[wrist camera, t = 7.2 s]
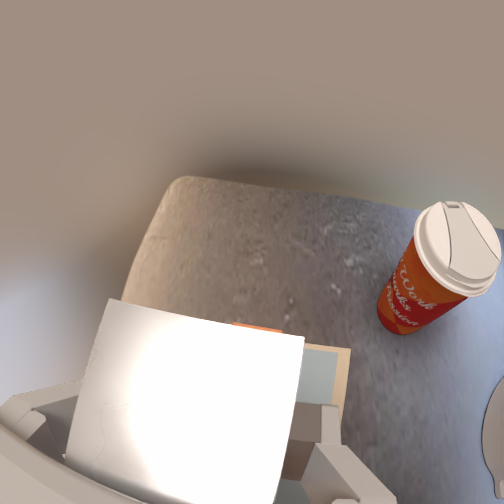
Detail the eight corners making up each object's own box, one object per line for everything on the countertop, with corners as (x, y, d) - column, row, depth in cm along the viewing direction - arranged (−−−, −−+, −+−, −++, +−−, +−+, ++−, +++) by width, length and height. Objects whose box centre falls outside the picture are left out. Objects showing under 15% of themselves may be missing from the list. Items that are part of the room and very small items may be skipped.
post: (278, 400, 22) (313, 330, 6) (268, 453, 20) (268, 549, 4) (222, 389, 23) (106, 290, 6) (211, 442, 20) (55, 476, 4)
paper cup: (361, 280, 32) (406, 193, 20) (422, 274, 32) (482, 195, 20) (373, 351, 28) (440, 295, 16) (438, 340, 28) (519, 282, 16)
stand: (347, 352, 29) (388, 310, 18) (319, 510, 21) (348, 556, 11) (186, 325, 31) (146, 272, 21) (148, 476, 23) (85, 495, 13)
